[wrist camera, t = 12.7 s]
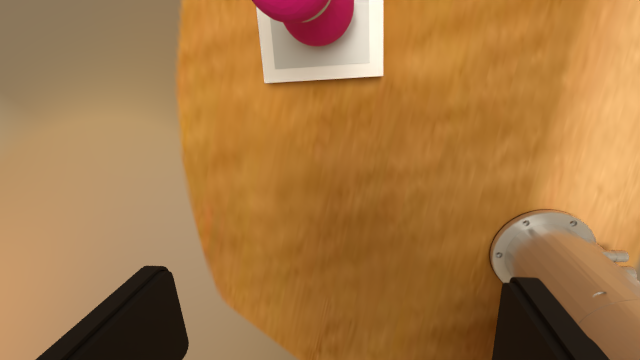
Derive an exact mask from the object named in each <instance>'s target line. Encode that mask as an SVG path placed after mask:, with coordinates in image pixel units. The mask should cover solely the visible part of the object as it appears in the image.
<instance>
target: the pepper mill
mask: <svg viewBox="0 0 640 360" xmlns="http://www.w3.org/2000/svg"><path fill="white" fill-rule="evenodd" d="M252 1H253V3H254V4H255V5H256V7H257V8H258V9H260V10H261V11H262V12H263V13H264V14H266V15H267V16H269V17H270V18H272V19H273V20H276V21H279V22H283V24H284V25H285V27H286V29H287V30H288V31H289V33H290V34H291V35H292V36H293V37H294V38H295V39H296V40H298V41H299V42H301V43H303V44H306V45H309V46H325V45H328V44H330V43H332V42H334V41H336V40H337V39H339V38H340V37H341V36H342V35H343V34H344V32H345V31H346V30H347V28H348V26H349V24H350V22H351V20H352V17H353V12H354V0H252Z"/></svg>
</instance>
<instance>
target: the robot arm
mask: <svg viewBox="0 0 640 360" xmlns="http://www.w3.org/2000/svg"><path fill="white" fill-rule="evenodd" d="M523 221H524V222H523ZM490 260H491V264H492V267H493V269H494V271H495V273H496V275H497V276H498V277H499V279H500V280H501V281H502V282H503V283H504V284H503V286H502V291H501V299H500V306H499V313H498V320H497V327H496V334H495V341H494V348H493V356H492V360H640V282H639V281H638V280H637V273H636V271H635V270H634V268H633V267H630V266H619V265H617V264H616V263H615V262H627V261H628V260H629V255H628V253H627V252H626V251H624V250H612V251H606V250H605V249H603V248H602V247H601V246H599V245H598V244H597V243H596V238H595V236H594V234H593V232H592V231H591V229H590V228H589V227H588V226H587V225H586V224H585V223H584V222H582V221H581V220H580V219H578V218H576V217H575V216H573V215H571V214H568V213H566V212H563V211H557V210H538V211H532V212H529V213H526V214H523V215H521V216H519V217H517V218H515V219H513V220H512V221H510V222H509V223H507V224H506V225H505V226H504V227H503V228H502V229H501V230H500V231H499V233H498V234H497V236H496V237H495V239H494V241H493V243H492V246H491V251H490ZM613 261H614V262H613ZM188 344H189V342H188V337H187V333H186V328H185V324H184V320H183V316H182V312H181V308H180V303H179V299H178V295H177V291H176V287H175V282H174V278H173V275H172V273H171V272H169V271H168V269H167V268H166V267H164V266H144V267H143V268H141V269H140V270H139V271H138V272H136V273H135V274H134V275H133V276H132V277H131V278H130V279H128V280H127V281H126V282H125V283H124V284H123V285H122V286H120V287H119V288H118V289H117V290H116V291H115V292H113V293H112V294H111V295H110V296H109V297H108V298H106V299H105V300H104V301H103V302H102V303H101V304H99V305H98V306H97V307H96V308H95V309H94V310H92V311H91V312H90V313H89V314H88V315H87V316H86V317H85V318H83V319H82V320H81V321H80V322H79V323H77V325H75V326H74V327H73V328H72V329H71V330H69V331H68V332H67V333H66V334H65V335H64V336H62V337H61V338H60V339H59V340H58V341H57V342H56V343H54V344H53V345H52V346H51V347H50V348H49V349H47V350H46V351H45V352H44V353H43V354H42V355H40V356H39V357H38V358H37V359H36V360H182V359H183V358H184V356H185V354H186V353H187V350H188Z"/></svg>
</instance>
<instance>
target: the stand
mask: <svg viewBox="0 0 640 360" xmlns="http://www.w3.org/2000/svg"><path fill="white" fill-rule="evenodd" d="M256 9H257V18H258V27H259V36H260V45H261V55H262V64H263V73H264V82H265V83H277V82H293V81H309V80H325V79H341V78H358V77H374V76H383V0H354V12H353V17H352V20H351V22H350V24H349V26H348V28H347V30H346V31H345V32H344V34H343V35H342V36H341V37H340V38H339V39H337V40H336V41H334V42H332V43H330V44H328V45H325V46H309V45H306V44H303V43H301V42H299V41H298V40H296V39H295V38H294V37H293V36H292V35H291V34H290V33H289V31H288V30H287V29H286V27H285V25H284V24H283V22H279V21H276V20H273V19H272V18H270V17H269V16H267V15H266V14H264V13H263V12H262V11H261V10H260V9H258V8H257V7H256Z"/></svg>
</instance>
